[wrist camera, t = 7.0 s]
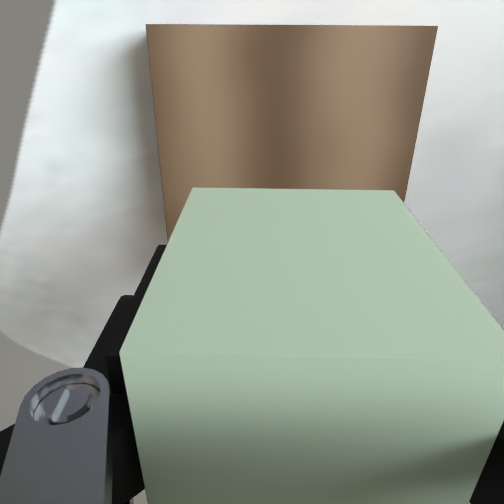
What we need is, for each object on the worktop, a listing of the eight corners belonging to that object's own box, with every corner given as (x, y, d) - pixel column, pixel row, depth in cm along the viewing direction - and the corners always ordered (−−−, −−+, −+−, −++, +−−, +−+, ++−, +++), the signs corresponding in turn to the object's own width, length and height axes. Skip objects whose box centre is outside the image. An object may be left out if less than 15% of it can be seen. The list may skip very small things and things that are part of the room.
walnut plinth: (415, 25, 20) (437, 26, 17) (377, 250, 25) (389, 276, 23) (161, 24, 20) (145, 24, 17) (181, 246, 26) (171, 271, 23)
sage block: (394, 190, 10) (528, 361, 5) (366, 346, 13) (438, 573, 7) (192, 187, 10) (119, 352, 5) (202, 342, 13) (159, 563, 8)
